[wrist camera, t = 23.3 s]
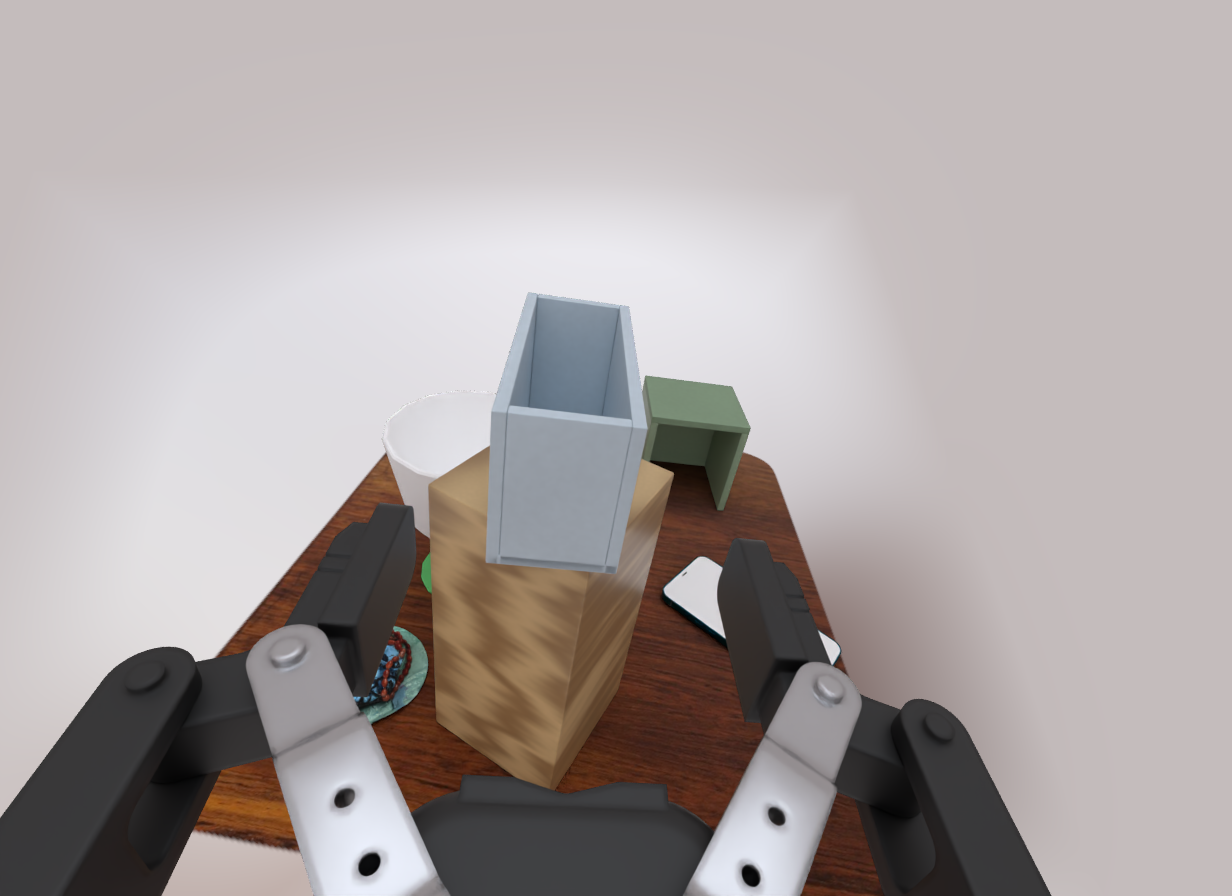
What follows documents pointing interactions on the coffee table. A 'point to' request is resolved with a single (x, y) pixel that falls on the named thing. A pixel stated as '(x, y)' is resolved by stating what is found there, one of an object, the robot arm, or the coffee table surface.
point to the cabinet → (695, 429)
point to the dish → (396, 676)
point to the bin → (565, 438)
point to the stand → (529, 629)
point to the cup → (435, 446)
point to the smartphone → (711, 601)
